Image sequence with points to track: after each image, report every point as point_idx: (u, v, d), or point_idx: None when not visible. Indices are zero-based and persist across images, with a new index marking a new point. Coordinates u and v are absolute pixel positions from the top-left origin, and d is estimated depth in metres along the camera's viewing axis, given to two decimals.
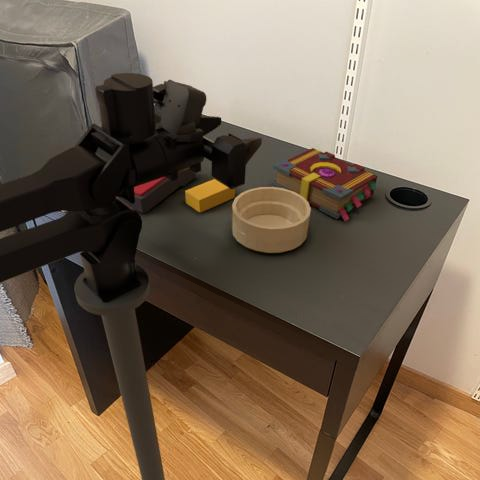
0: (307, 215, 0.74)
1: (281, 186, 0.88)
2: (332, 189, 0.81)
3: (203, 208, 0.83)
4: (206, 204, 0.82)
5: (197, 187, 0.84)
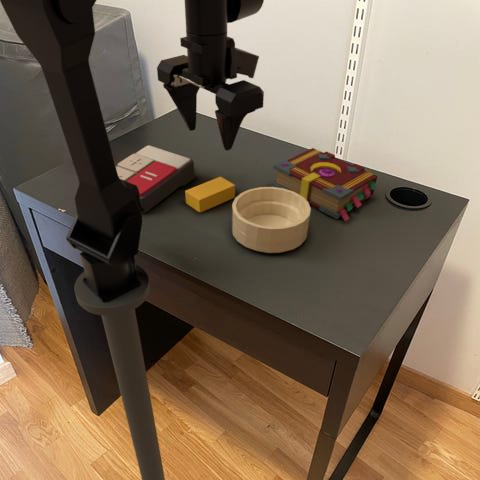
0: (307, 215, 0.74)
1: (281, 186, 0.88)
2: (332, 189, 0.81)
3: (203, 208, 0.83)
4: (206, 204, 0.82)
5: (197, 187, 0.84)
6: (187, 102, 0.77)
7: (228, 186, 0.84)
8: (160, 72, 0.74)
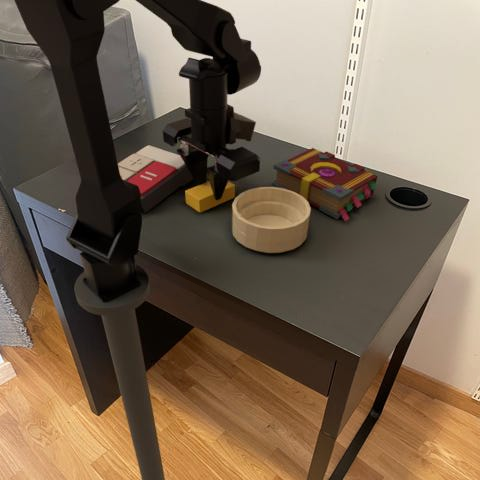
0: (307, 215, 0.74)
1: (281, 186, 0.88)
2: (332, 189, 0.81)
3: (203, 208, 0.83)
4: (206, 204, 0.82)
5: (197, 187, 0.84)
6: (199, 166, 0.82)
7: (228, 186, 0.84)
8: (165, 134, 0.81)
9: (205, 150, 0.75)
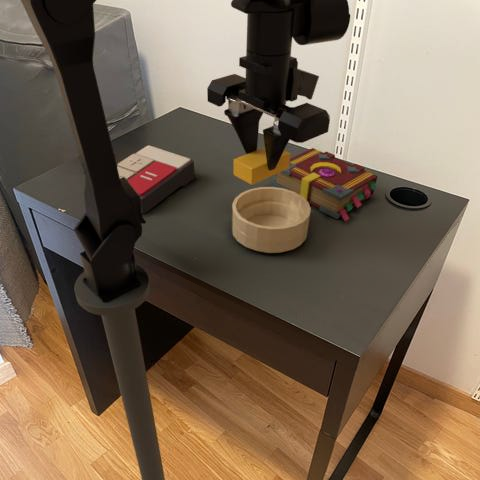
0: (307, 215, 0.74)
1: (281, 186, 0.88)
2: (332, 189, 0.81)
3: (256, 180, 0.70)
4: (259, 175, 0.70)
5: (247, 155, 0.71)
6: (249, 130, 0.70)
7: (283, 154, 0.72)
8: (211, 92, 0.69)
9: (263, 107, 0.63)
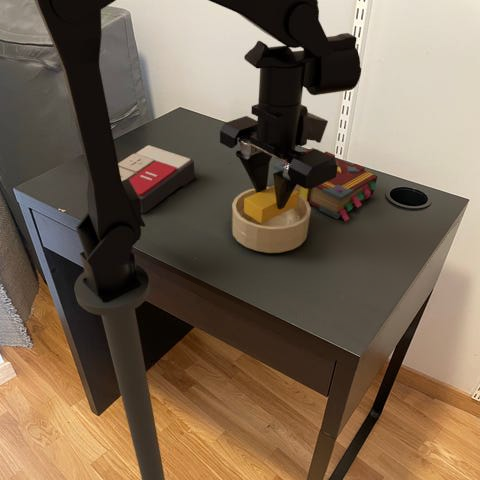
0: (307, 215, 0.74)
1: None
2: (332, 189, 0.81)
3: (265, 218, 0.73)
4: (268, 214, 0.73)
5: (257, 194, 0.74)
6: (260, 170, 0.73)
7: (292, 193, 0.74)
8: (223, 135, 0.71)
9: (274, 153, 0.65)
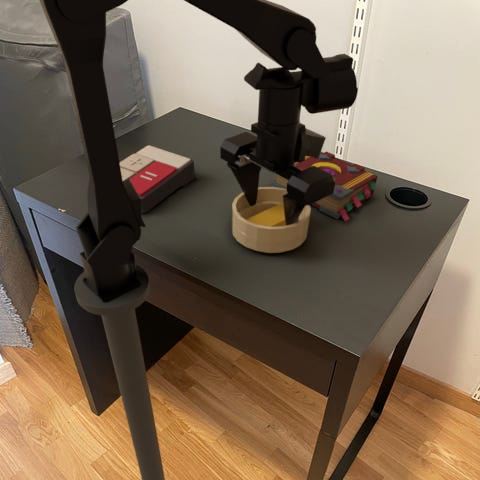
0: (307, 215, 0.74)
1: (281, 186, 0.88)
2: None
3: None
4: None
5: (256, 216, 0.77)
6: (250, 180, 0.75)
7: None
8: (223, 151, 0.73)
9: (273, 170, 0.67)
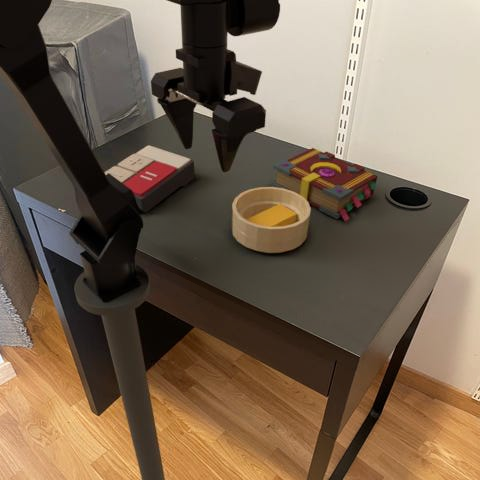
0: (307, 215, 0.74)
1: (281, 186, 0.88)
2: (332, 189, 0.81)
3: None
4: None
5: (256, 216, 0.77)
6: (183, 119, 0.71)
7: (290, 215, 0.77)
8: (154, 85, 0.68)
9: (199, 100, 0.62)
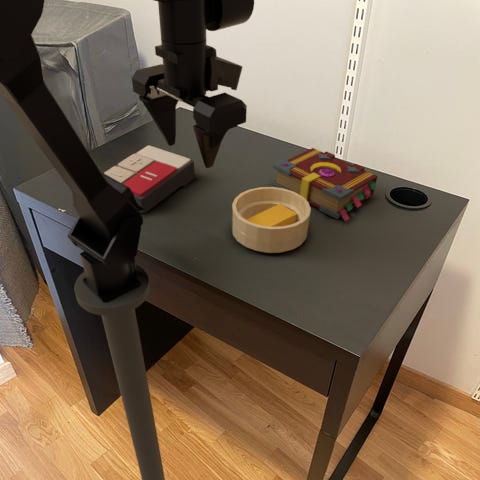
0: (307, 215, 0.74)
1: (281, 186, 0.88)
2: (332, 189, 0.81)
3: None
4: None
5: (256, 216, 0.77)
6: (165, 115, 0.71)
7: (290, 215, 0.77)
8: (135, 82, 0.68)
9: (180, 96, 0.62)
